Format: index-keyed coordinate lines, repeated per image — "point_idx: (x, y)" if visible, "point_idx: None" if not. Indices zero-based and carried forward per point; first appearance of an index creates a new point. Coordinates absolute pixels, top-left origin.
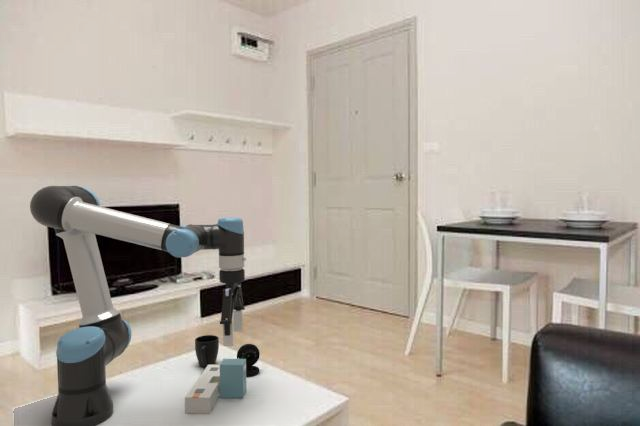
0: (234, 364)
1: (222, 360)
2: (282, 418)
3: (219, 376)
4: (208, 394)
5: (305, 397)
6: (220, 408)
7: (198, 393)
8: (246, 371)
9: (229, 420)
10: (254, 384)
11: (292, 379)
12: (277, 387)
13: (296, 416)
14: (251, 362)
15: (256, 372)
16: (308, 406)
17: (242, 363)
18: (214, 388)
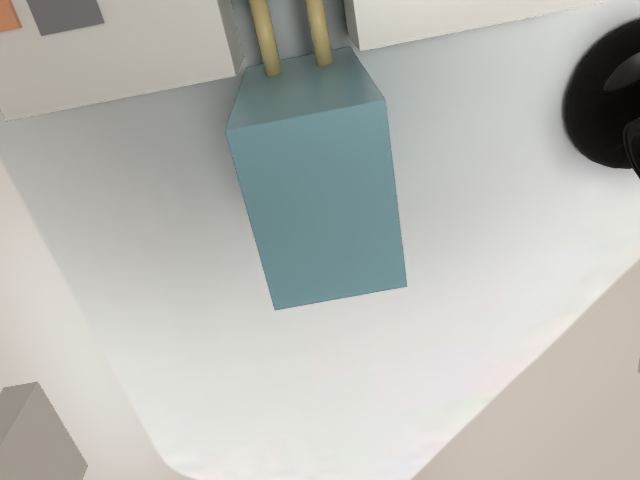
0: (268, 250)
1: (337, 109)
2: (148, 404)
3: (357, 27)
4: (42, 92)
5: (346, 428)
6: (127, 127)
7: (6, 15)
8: (598, 108)
9: (35, 224)
10: (457, 192)
11: (528, 342)
12: (430, 309)
13: (182, 438)
14: (635, 162)
15: (600, 163)
16: (273, 452)
17: (305, 297)
18: (145, 90)
